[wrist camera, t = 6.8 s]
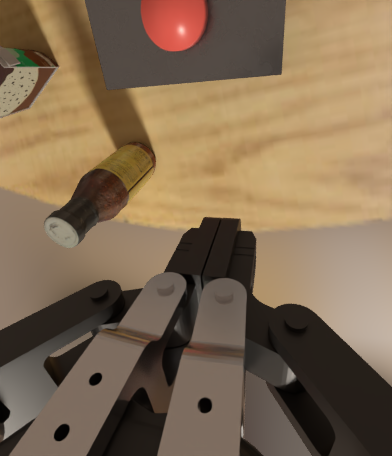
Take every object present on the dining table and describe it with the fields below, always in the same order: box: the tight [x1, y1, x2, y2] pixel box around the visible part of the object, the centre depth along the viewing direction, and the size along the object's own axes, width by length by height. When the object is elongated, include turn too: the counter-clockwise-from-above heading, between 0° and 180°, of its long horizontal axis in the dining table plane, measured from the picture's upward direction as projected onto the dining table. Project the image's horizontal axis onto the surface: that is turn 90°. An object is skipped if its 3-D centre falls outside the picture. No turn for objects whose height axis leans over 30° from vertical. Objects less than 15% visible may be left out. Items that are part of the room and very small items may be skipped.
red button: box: [141, 0, 208, 51], centre depth 28 cm, size 6×6×7 cm
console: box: [85, 0, 286, 90], centre depth 29 cm, size 20×12×6 cm, turn 97°
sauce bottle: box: [44, 142, 156, 248], centre depth 36 cm, size 7×6×20 cm
